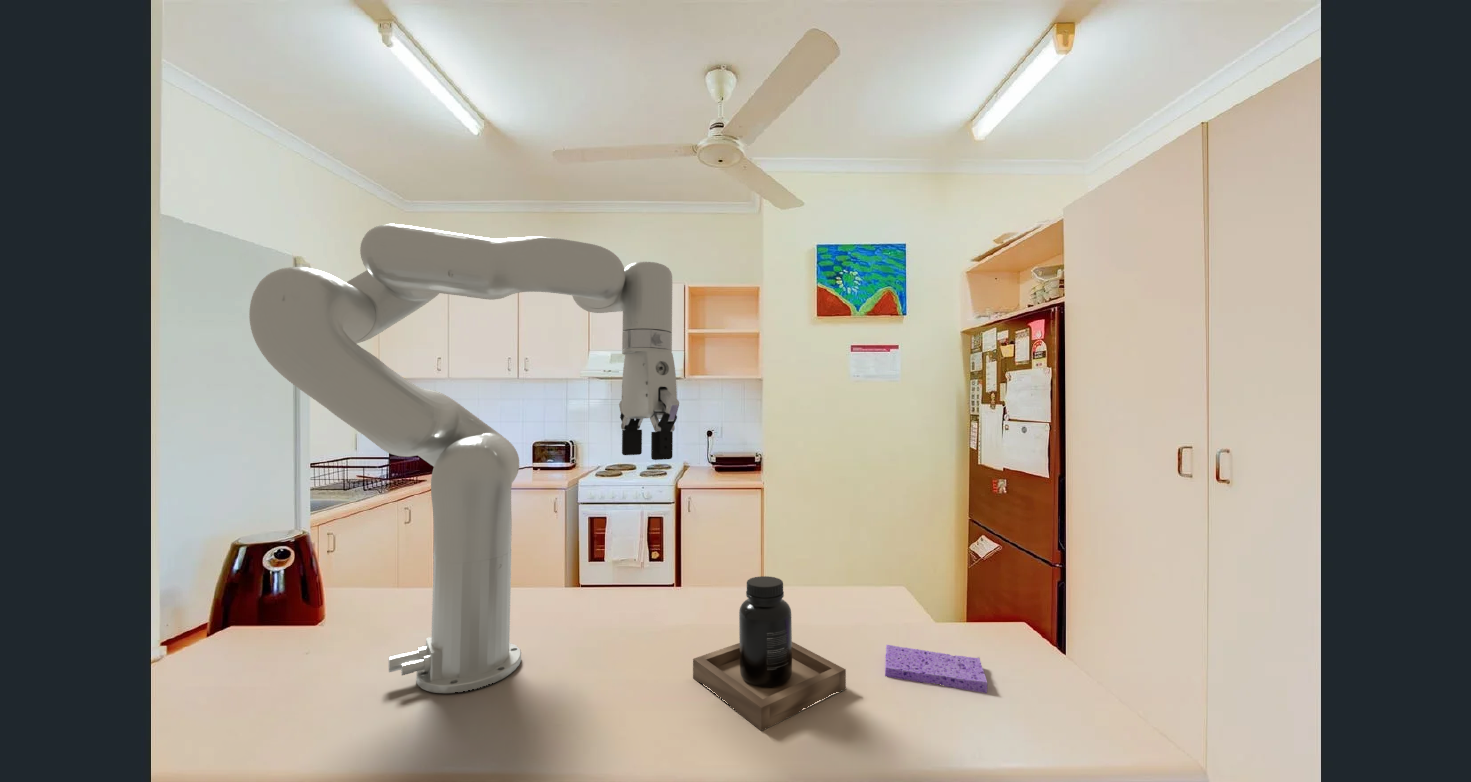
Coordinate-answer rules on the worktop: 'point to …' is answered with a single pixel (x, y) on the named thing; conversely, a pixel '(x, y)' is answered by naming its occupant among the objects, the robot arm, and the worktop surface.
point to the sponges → (935, 668)
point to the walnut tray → (769, 703)
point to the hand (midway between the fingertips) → (646, 456)
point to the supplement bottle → (765, 634)
